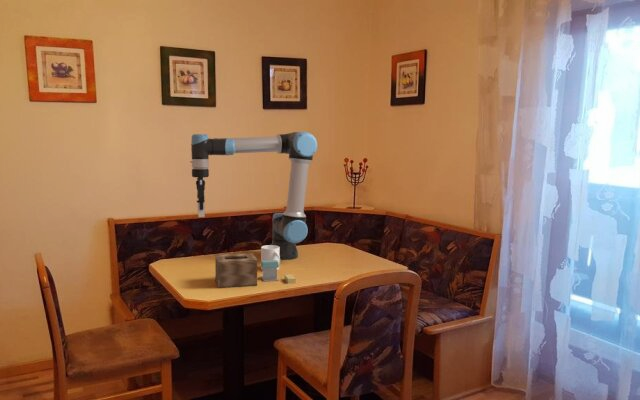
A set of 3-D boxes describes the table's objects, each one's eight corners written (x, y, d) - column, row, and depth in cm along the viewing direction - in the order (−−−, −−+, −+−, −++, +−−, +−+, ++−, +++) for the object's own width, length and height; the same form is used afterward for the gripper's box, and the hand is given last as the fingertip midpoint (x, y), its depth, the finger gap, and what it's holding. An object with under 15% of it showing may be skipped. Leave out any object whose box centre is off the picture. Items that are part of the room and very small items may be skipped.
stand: (275, 276, 230) (275, 264, 229) (278, 280, 224) (278, 267, 223) (261, 277, 228) (261, 265, 227) (263, 281, 222) (263, 268, 221)
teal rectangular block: (276, 265, 228) (276, 259, 228) (278, 267, 225) (278, 261, 224) (261, 266, 226) (261, 260, 226) (262, 268, 223) (262, 262, 222)
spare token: (284, 279, 226) (284, 274, 226) (292, 279, 227) (292, 274, 227) (288, 284, 220) (288, 278, 219) (295, 283, 221) (295, 278, 220)
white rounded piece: (271, 274, 234) (272, 251, 233) (257, 268, 243) (257, 246, 242) (287, 271, 239) (287, 248, 238) (272, 266, 249) (272, 244, 247)
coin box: (252, 277, 228) (252, 253, 226) (257, 285, 215) (257, 260, 214) (215, 279, 223) (215, 254, 222) (218, 288, 211) (218, 261, 210)
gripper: (191, 166, 245) (192, 210, 248) (192, 170, 221) (193, 219, 224) (207, 166, 247) (208, 210, 250) (210, 170, 223) (210, 218, 226)
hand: (201, 214), depth 237 cm, fingers open, 13 cm apart
